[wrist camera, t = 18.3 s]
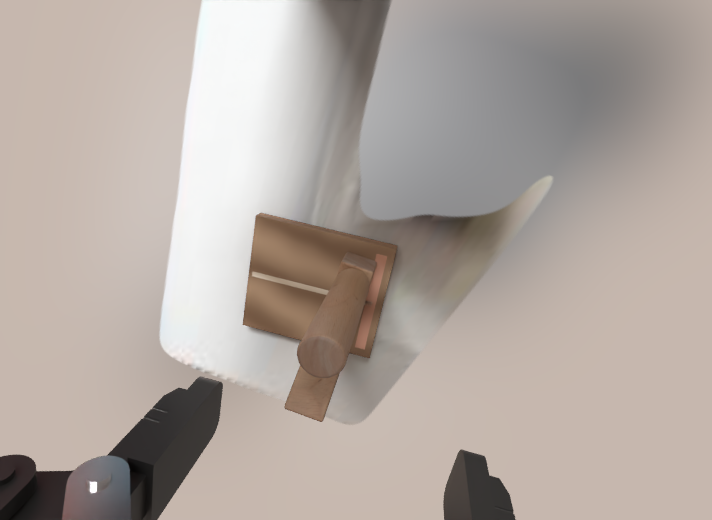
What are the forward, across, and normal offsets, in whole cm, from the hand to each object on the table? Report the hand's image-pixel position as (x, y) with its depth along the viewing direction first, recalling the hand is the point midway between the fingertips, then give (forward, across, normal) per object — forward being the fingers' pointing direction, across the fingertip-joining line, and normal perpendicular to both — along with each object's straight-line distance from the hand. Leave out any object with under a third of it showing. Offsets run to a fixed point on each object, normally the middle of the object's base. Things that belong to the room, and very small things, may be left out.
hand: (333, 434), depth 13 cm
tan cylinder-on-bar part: (+32, +3, +10) cm, 33 cm away
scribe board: (+33, +7, +10) cm, 35 cm away
